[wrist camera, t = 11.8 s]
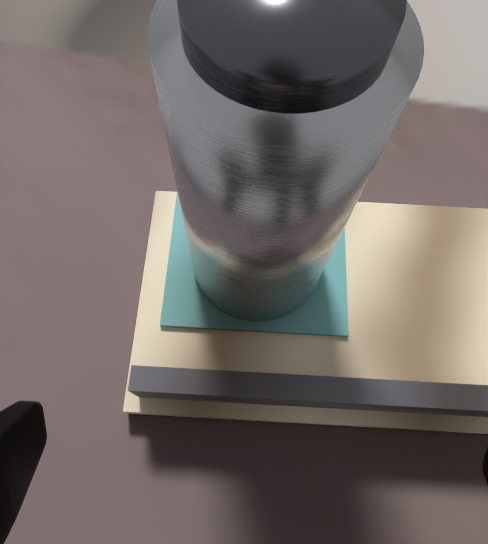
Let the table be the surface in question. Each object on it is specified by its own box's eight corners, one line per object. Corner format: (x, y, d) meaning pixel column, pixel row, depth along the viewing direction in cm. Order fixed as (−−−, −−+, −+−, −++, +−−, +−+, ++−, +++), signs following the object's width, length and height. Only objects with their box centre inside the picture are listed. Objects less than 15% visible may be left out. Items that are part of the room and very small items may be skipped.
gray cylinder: (344, 286, 17) (507, 40, 7) (228, 344, 16) (221, 155, 6) (281, 187, 19) (339, -128, 9) (172, 234, 18) (94, -59, 8)
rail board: (680, 229, 20) (743, 197, 17) (761, 449, 16) (853, 448, 14) (159, 200, 20) (148, 165, 17) (127, 413, 16) (109, 406, 14)
